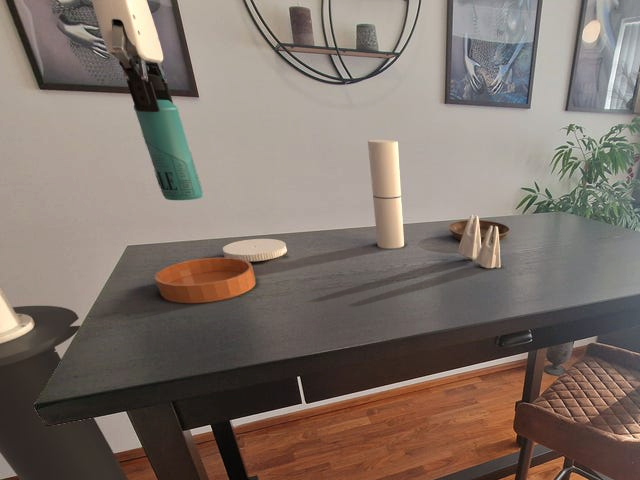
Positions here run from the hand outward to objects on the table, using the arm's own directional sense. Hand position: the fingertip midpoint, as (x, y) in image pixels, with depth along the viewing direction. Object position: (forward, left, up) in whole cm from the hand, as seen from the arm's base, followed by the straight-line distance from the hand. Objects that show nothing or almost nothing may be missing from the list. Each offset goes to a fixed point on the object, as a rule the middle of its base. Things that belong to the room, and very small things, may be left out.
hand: (156, 109), depth 73 cm
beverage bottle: (0, 0, -15) cm, 15 cm away
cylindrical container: (+38, +27, -31) cm, 56 cm away
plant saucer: (+64, +31, -31) cm, 78 cm away
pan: (-1, +1, -31) cm, 31 cm away
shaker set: (+58, +8, -31) cm, 67 cm away
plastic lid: (+5, +21, -31) cm, 38 cm away
